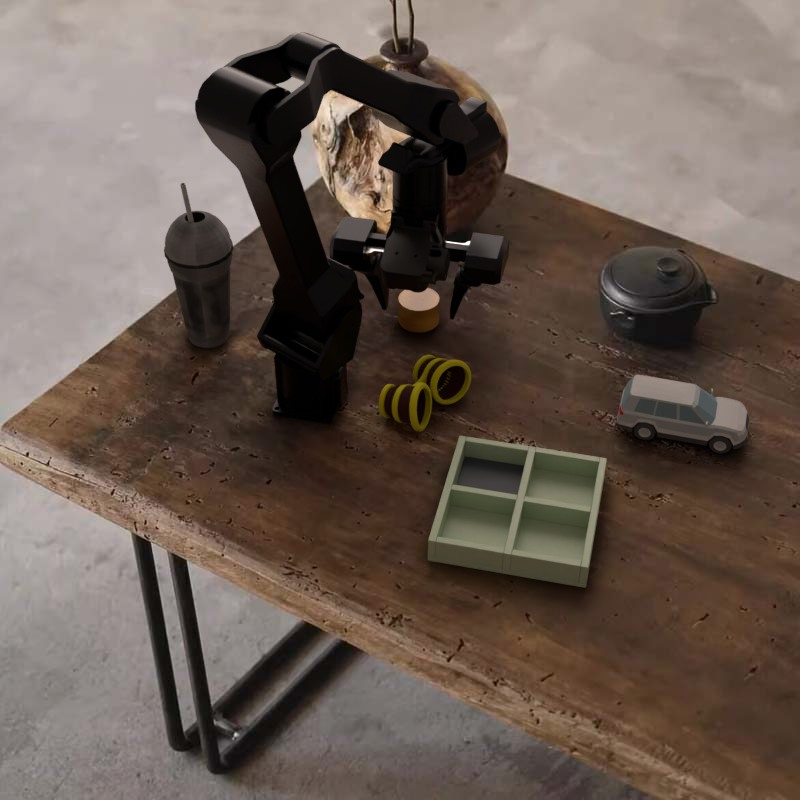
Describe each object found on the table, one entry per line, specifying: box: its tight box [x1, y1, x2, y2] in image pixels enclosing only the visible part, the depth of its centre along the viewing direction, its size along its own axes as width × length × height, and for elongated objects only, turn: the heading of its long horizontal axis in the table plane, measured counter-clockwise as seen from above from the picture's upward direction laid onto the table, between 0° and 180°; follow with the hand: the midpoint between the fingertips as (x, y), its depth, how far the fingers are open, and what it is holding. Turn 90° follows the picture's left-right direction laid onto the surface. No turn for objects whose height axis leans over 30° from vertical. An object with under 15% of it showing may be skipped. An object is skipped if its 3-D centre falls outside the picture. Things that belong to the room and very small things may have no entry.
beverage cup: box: [163, 182, 234, 349], centre depth 139 cm, size 7×7×20 cm
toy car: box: [615, 374, 750, 454], centre depth 132 cm, size 6×13×5 cm, turn 74°
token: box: [397, 287, 441, 333], centre depth 147 cm, size 5×5×3 cm
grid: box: [427, 435, 608, 589], centre depth 124 cm, size 14×14×3 cm
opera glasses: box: [378, 354, 472, 432], centre depth 135 cm, size 10×5×5 cm, turn 141°
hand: (418, 312), depth 147 cm, fingers open, 7 cm apart
